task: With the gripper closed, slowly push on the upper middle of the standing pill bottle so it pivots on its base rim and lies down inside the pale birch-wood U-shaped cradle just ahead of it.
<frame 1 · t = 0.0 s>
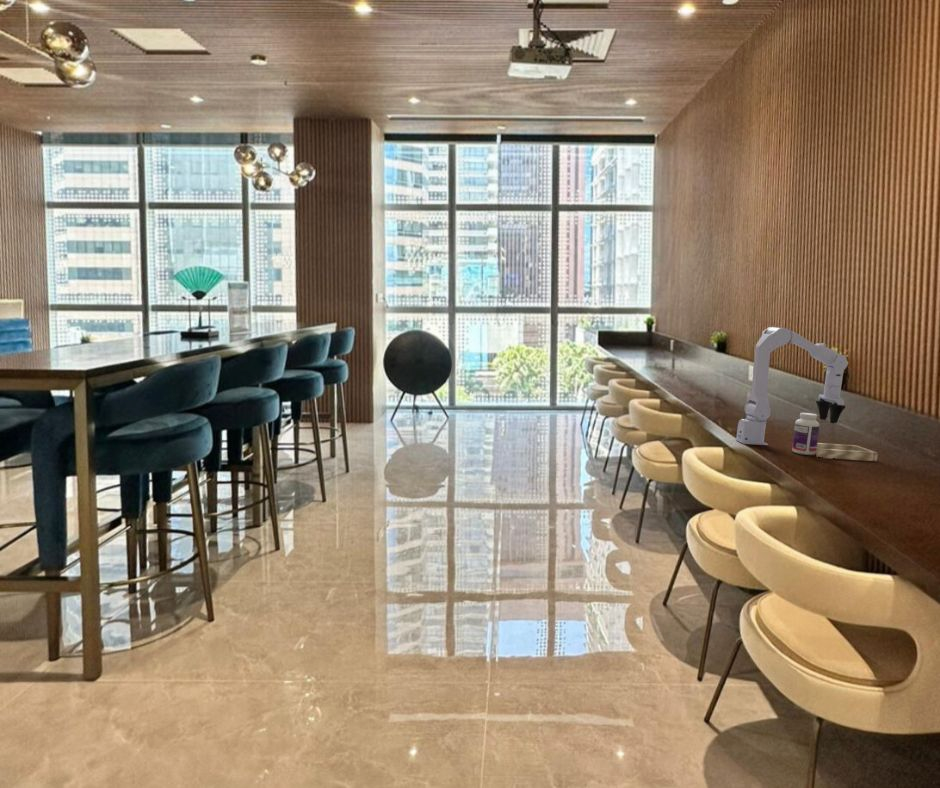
hand: (828, 421, 296), 10 cm above the table, tool pointing down, fingers open, 7 cm apart
cradle: (835, 455, 282), on the table
pill bottle: (803, 453, 281), on the table
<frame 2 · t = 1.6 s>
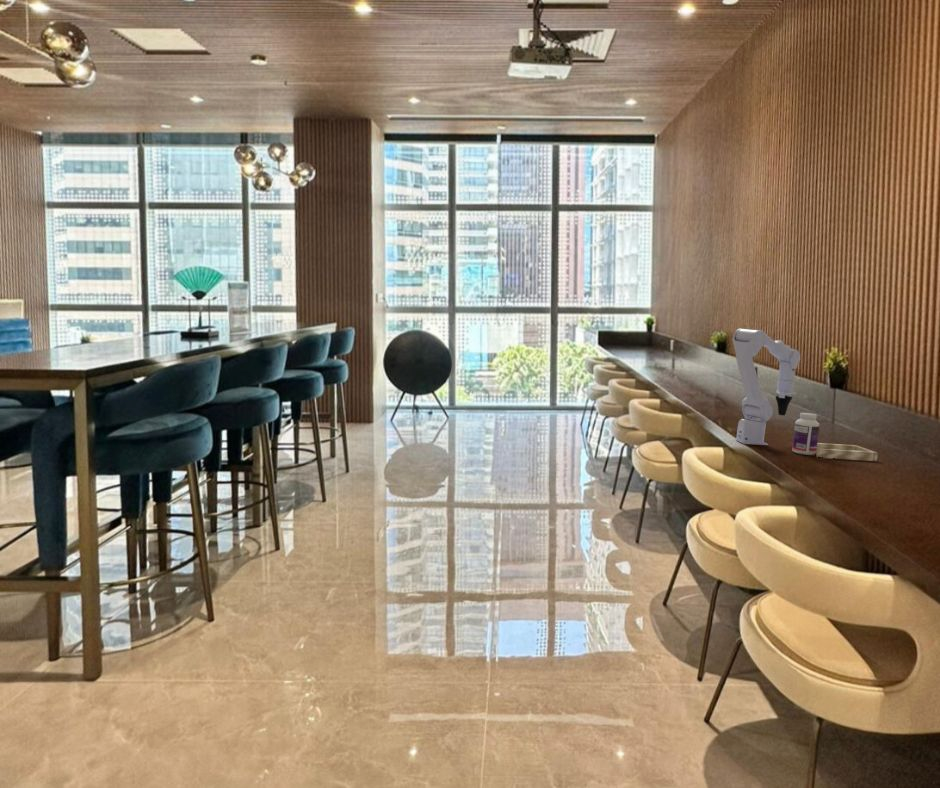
hand: (781, 414, 302), 10 cm above the table, tool pointing down, fingers closed
nothing on the table moved.
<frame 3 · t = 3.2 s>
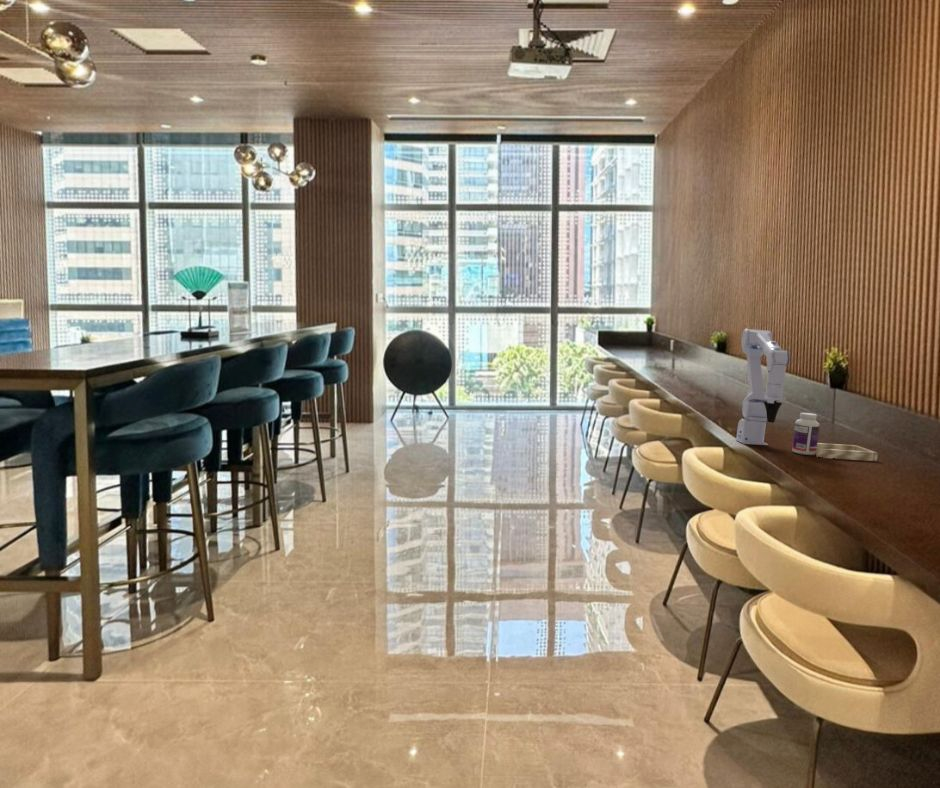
hand: (770, 422, 279), 10 cm above the table, tool pointing down, fingers closed
nothing on the table moved.
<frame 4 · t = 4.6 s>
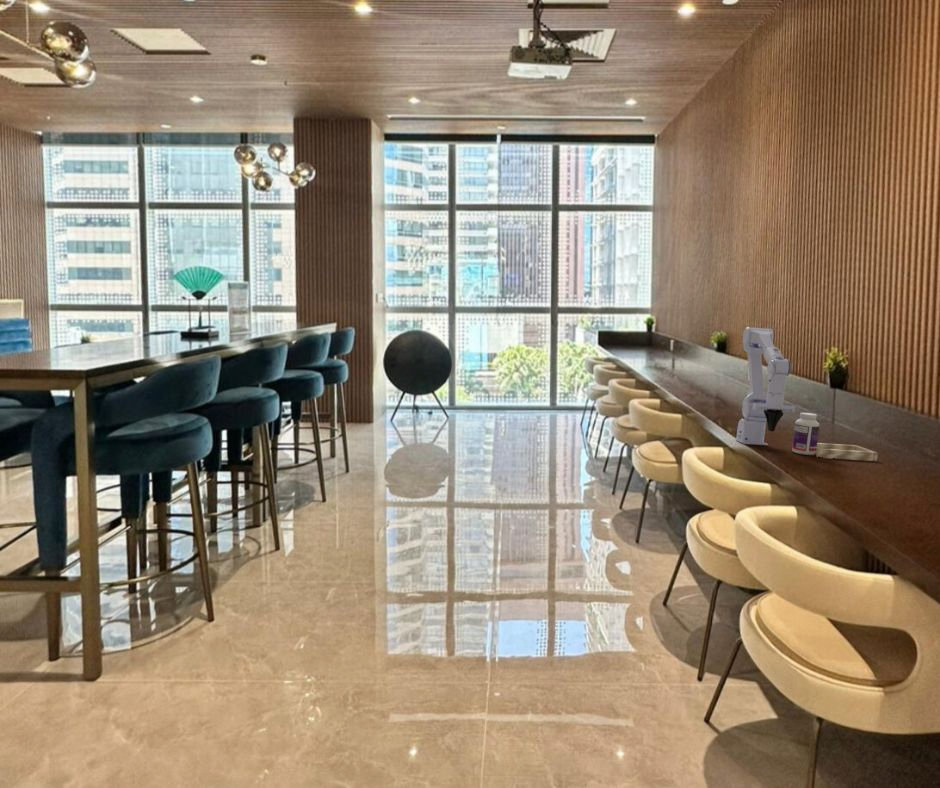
hand: (771, 430, 279), 7 cm above the table, tool pointing down, fingers closed
nothing on the table moved.
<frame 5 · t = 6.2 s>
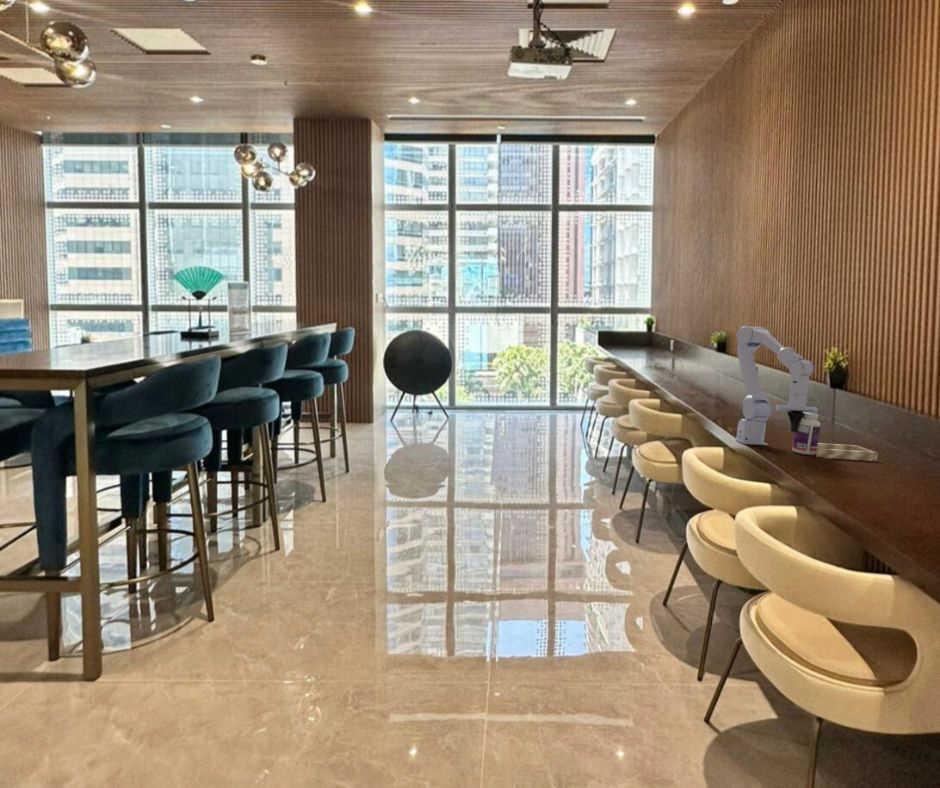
hand: (793, 431, 280), 8 cm above the table, tool pointing down, fingers closed, pressing on pill bottle
pill bottle: (803, 453, 281), on the table, touching gripper
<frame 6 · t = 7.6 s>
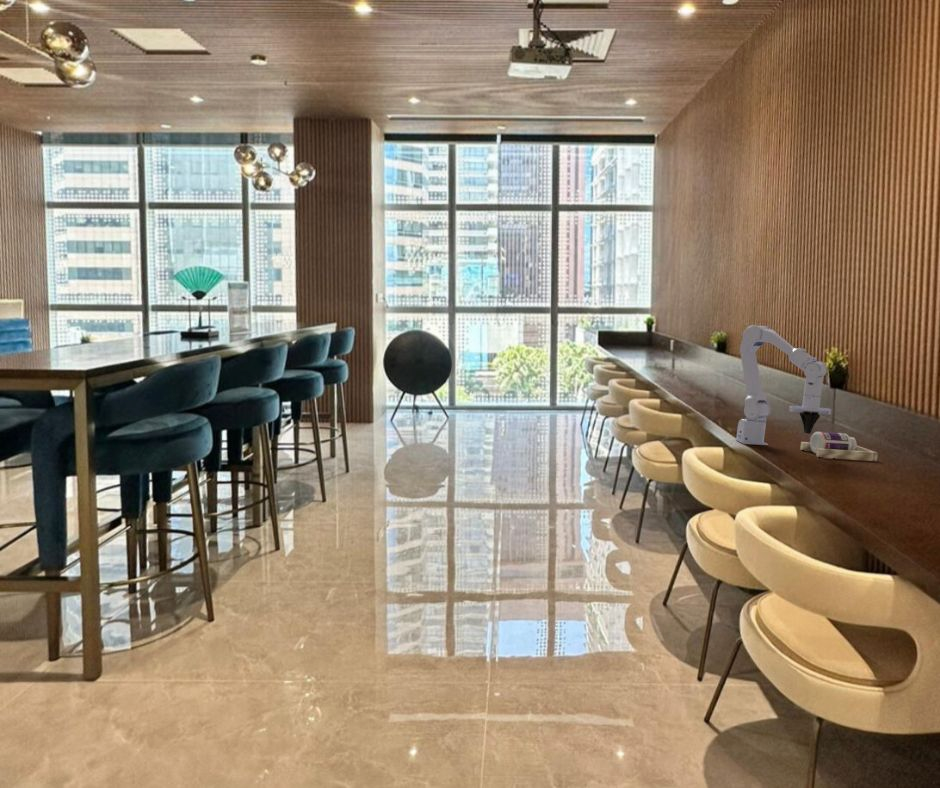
hand: (807, 433, 280), 7 cm above the table, tool pointing down, fingers closed
pill bottle: (814, 442, 282), point 4 cm above the table
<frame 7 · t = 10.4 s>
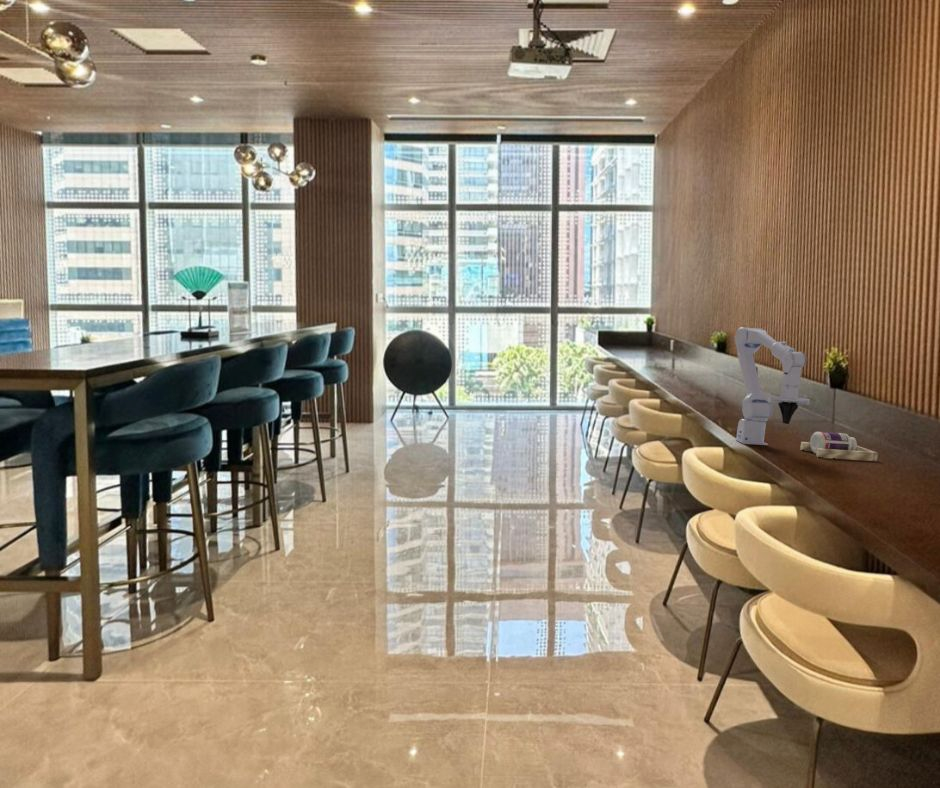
hand: (785, 423, 279), 10 cm above the table, tool pointing down, fingers closed
nothing on the table moved.
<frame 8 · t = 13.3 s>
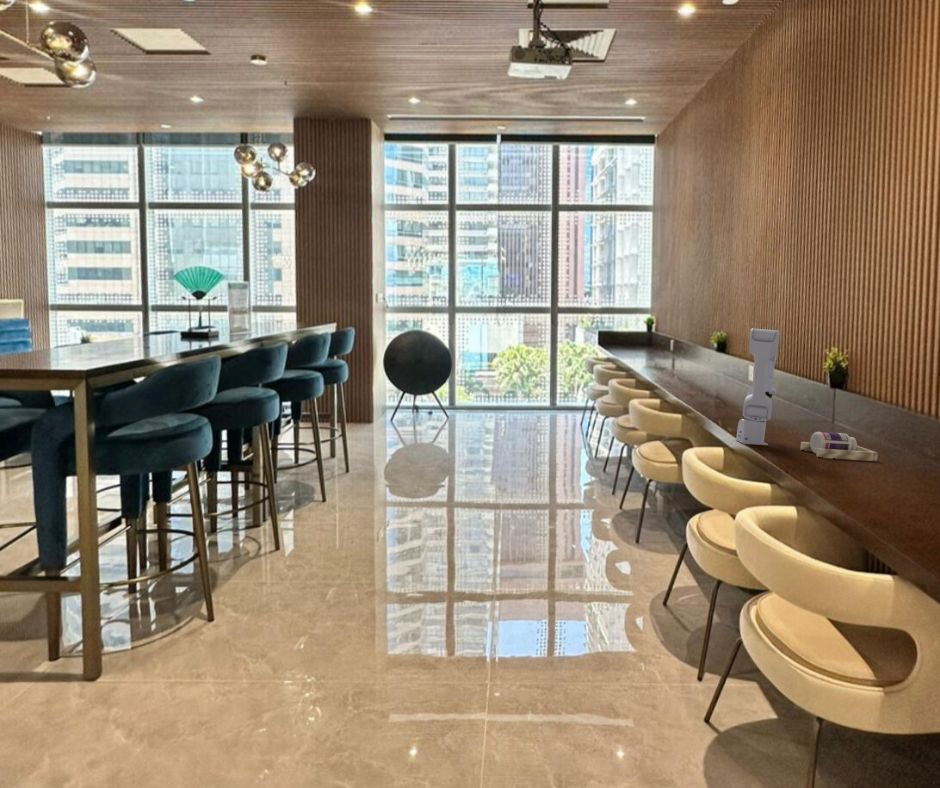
hand: (760, 411, 308), 10 cm above the table, tool pointing down, fingers closed
nothing on the table moved.
at the end: pill bottle tilted 91°; pill bottle inside the target area on the cradle (3.7 cm from its centre), point 4.1 cm above the cradle's base; the gripper is holding nothing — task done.
